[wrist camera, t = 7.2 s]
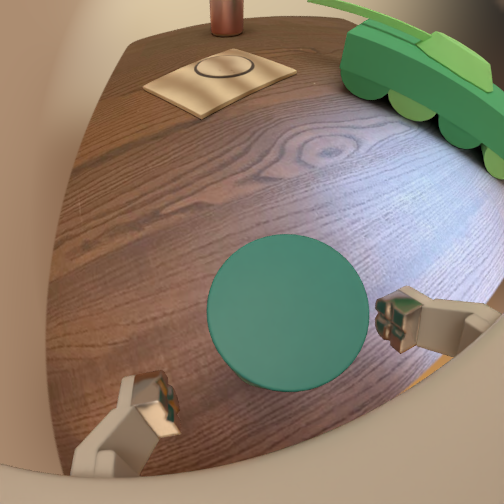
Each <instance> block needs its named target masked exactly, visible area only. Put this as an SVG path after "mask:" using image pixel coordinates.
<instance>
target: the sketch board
mask: <svg viewBox="0 0 504 504" xmlns="http://www.w3.org/2000/svg"><path fill="white" fill-rule="evenodd" d="M295 74H297V70H294V69H292V68H289V67H287V66H284V65H282V64H279V63H276V62H273V61H271V60H268V59H265V58H262V57H259V56H256V55H253V54H250V53H247V52H243V51H240V50H237V49H231V50H227V51H224V52H222V53H219V54H216V55H213V56H210V57H208V58H205V59H202V60H200V61H197V62H195V63H192V64H190V65H187V66H185V67H183V68H180V69H178V70H176V71H174V72H171V73H169V74H167V75H165V76H163V77H161V78H159V79H156V80H154V81H152V82H150V83H148V84H146V85H144V86H143V89H144V90H145V91H147V92H149V93H151V94H153V95H156V96H158V97H160V98H162V99H164V100H166V101H168V102H170V103H171V104H173V105H175V106H177V107H179V108H181V109H183V110H185V111H187V112H189V113H191V114H192V115H194V116H196V117H198V118H200V119H203V118H205V117H207V116H209V115H211V114H212V113H214V112H216V111H218V110H220V109H222V108H224V107H225V106H227V105H229V104H231V103H233V102H235V101H237V100H239V99H241V98H243V97H245V96H247V95H249V94H252V93H254V92H256V91H258V90H260V89H262V88H265V87H267V86H269V85H271V84H274V83H276V82H278V81H281V80H283V79H285V78H288V77H290V76H293V75H295Z"/></svg>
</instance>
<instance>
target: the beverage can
mask: <svg viewBox="0 0 504 504" xmlns="http://www.w3.org/2000/svg"><path fill="white" fill-rule="evenodd" d="M243 2H244V1H243V0H210V18H211V32H212V33H213V34H214V35H215V36H220V37H229V36H236V35H239V34H241V33H242V31H243Z"/></svg>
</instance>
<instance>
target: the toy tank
mask: <svg viewBox="0 0 504 504" xmlns="http://www.w3.org/2000/svg"><path fill="white" fill-rule="evenodd" d="M307 2H311V3H315V4H320V5H324V6H328V7H333V8H336V9H340V10H343V11H347V12H350V13H354V14H357V15H360V16H363V17H366V18H369V19H368V20H366V21H364V22H363V23H361V24H360V25H358V26H357V27H355V28H353V29H352V30H350V31H349V32H347V37H346V41H345V46H344V50H343V55H342V59H341V64H340V69H341V77H342V81H343V83H344V84H345V86H346V88H347V89H348V90H349V91H350V92H351V93H352V94H354V95H356V96H358V97H359V98H363V99H366V100H376V99H379V98H382V97H383V96H385V95H386V94H387V93H388V97H389V101H390V103H391V105H392V106H393V108H394V109H395V110H396V111H397V112H398V113H399V114H400V115H402V116H403V117H405V118H407V119H410V120H413V121H425V120H429V119H430V118H432V117H434V116H435V115H436V113H437V114H438V121H439V128H440V131H441V134H442V135H443V136H444V138H445V139H446V140H447V141H448V142H449V143H450V144H452V145H454V146H456V147H458V148H462V149H471V148H475V147H477V146H479V145H481V150H482V154H483V159H484V164H485V167H486V169H487V171H488V172H489V173H490V174H491V175H492V176H494V177H495V178H498V179H504V91H502V90H501V89H500V88H499V87H497V86H496V85H495V84H493V83H492V75H491V68H490V64H489V63H488V62H487V61H485V60H484V59H483V58H482V57H481V56H479V55H478V54H476V53H475V52H474V51H472V50H471V49H469V48H468V47H466V46H465V45H463V44H462V43H460V42H458V41H456V40H454V39H453V38H451V37H449V36H447V35H445V34H443V33H440V32H437V31H436V32H434V33H432V34H428V33H426V32H424V31H422V30H420V29H418V28H416V27H414V26H411V25H409V24H407V23H404V22H402V21H400V20H397V19H395V18H392V17H390V16H387V15H385V14H381V13H379V12H376V11H373V10H371V9H367V8H364V7H361V6H358V5H355V4H351V3H348V2H344V1H340V0H308V1H307Z"/></svg>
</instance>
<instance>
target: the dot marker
mask: <svg viewBox="0 0 504 504" xmlns="http://www.w3.org/2000/svg"><path fill="white" fill-rule="evenodd" d="M207 322H208V328H209V332H210V335H211V338H212V341H213V343H214V345H215V347H216V349H217V351H218V353H219V354H220V355H221V357H222V358H223V360H224V361H225V362H226V363H227V364H228V366H229V367H230V368H231V369H232V370H233V371H234V372H235V373H236V374H237V375H238V377H239V378H240V379H242V380H243V381H244V382H246V383H247V384H249V385H252V386H255V387H260V388H264V389H269V390H273V391H281V392H299V391H306V390H310V389H314V388H317V387H320V386H322V385H324V384H326V383H328V382H330V381H332V380H333V379H335V378H336V377H338V376H339V375H340V374H342V373H343V372H344V371H345V370H346V369H347V368H348V367H349V366H350V365H351V364H352V362H353V361H354V360H355V358H356V357H357V355H358V354H359V352H360V350H361V348H362V346H363V344H364V341H365V338H366V335H367V331H368V325H369V304H368V299H367V294H366V291H365V288H364V285H363V283H362V281H361V279H360V277H359V275H358V274H357V272H356V271H355V269H354V268H353V266H352V265H351V264H350V263H349V262H348V261H347V259H345V258H344V257H343V256H342V255H341V254H340V253H339V252H337V251H336V250H335V249H333V248H332V247H330V246H328V245H326V244H325V243H323V242H320V241H318V240H315V239H313V238H309V237H306V236H300V235H292V234H281V235H272V236H267V237H263V238H260V239H257V240H255V241H253V242H250V243H248V244H246V245H245V246H243V247H242V248H240V249H239V250H237V251H236V252H235V253H234V254H232V255H231V256H230V257H229V258H228V259H227V260H226V261H225V262H224V264H223V265H222V266H221V268H220V269H219V271H218V272H217V274H216V276H215V278H214V280H213V282H212V285H211V288H210V291H209V295H208V300H207Z"/></svg>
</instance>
